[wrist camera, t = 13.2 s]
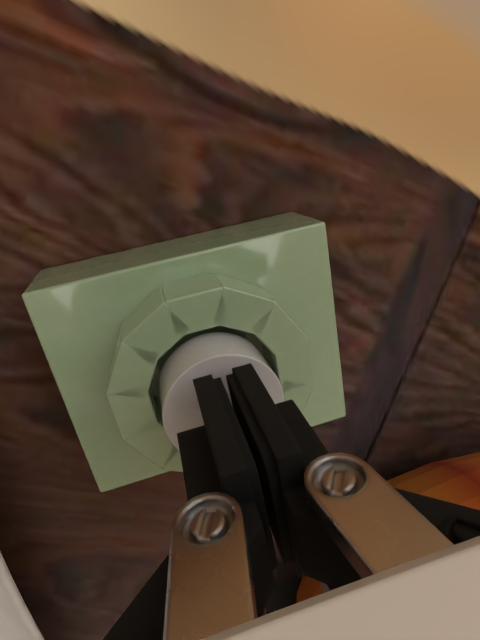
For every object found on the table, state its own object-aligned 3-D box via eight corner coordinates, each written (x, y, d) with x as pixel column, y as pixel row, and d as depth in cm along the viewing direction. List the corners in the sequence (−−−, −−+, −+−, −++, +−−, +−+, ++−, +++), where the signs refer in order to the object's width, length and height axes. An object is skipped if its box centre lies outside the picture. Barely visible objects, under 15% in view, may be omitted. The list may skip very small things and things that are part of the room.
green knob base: (104, 443, 19) (97, 531, 15) (39, 269, 16) (4, 313, 12) (316, 380, 21) (369, 443, 16) (293, 211, 18) (351, 229, 13)
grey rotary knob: (173, 443, 15) (179, 478, 13) (145, 348, 13) (147, 375, 12) (275, 412, 15) (292, 442, 14) (257, 318, 14) (274, 339, 12)
